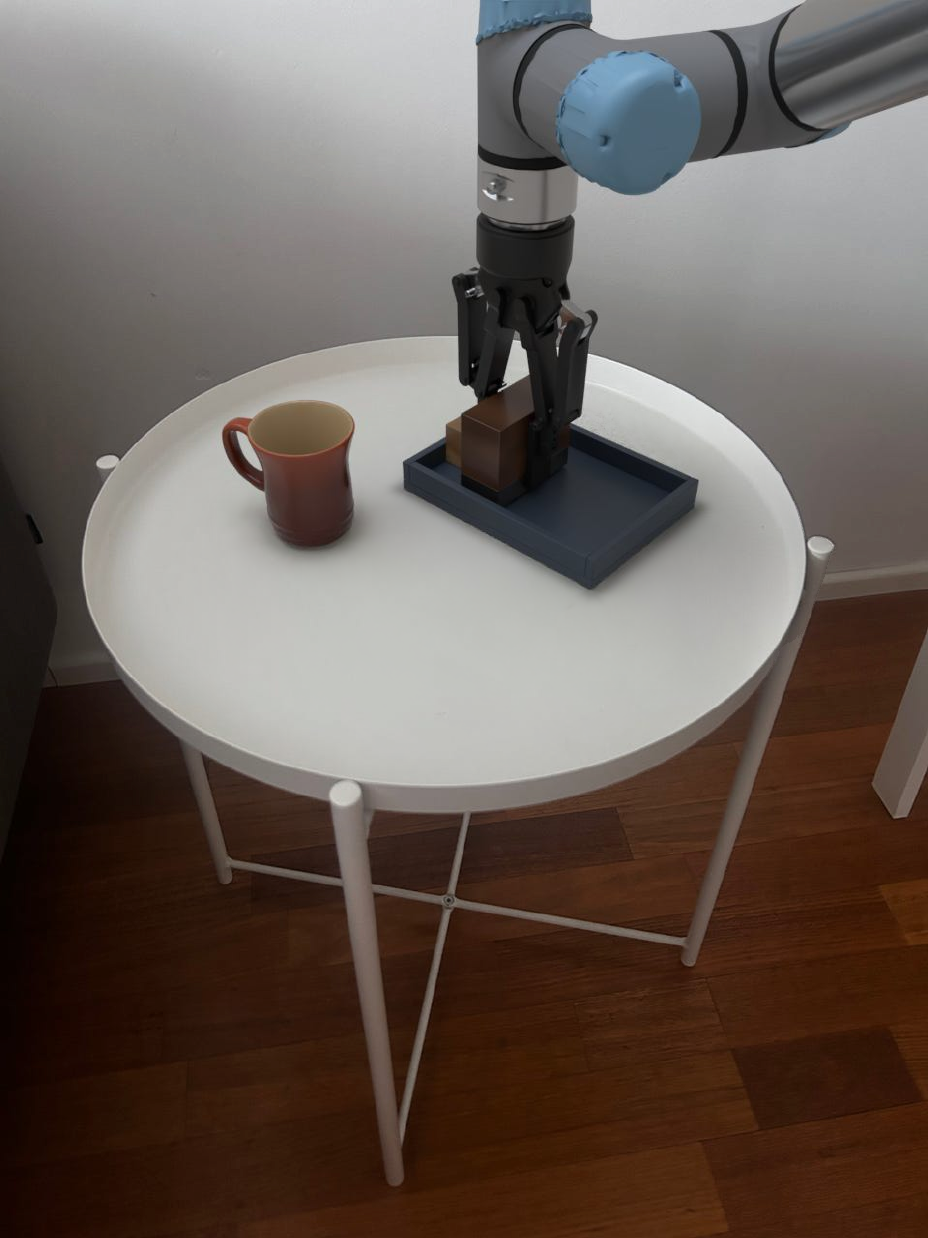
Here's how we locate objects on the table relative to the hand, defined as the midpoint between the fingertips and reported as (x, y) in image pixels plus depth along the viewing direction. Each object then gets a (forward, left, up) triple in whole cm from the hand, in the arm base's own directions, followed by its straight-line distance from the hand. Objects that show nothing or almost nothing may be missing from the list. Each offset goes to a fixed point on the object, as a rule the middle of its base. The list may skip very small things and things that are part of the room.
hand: (515, 470), depth 92 cm
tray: (-3, -1, -2) cm, 4 cm away
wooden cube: (+5, 0, -1) cm, 5 cm away
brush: (0, 0, -1) cm, 1 cm away
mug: (+11, +17, -2) cm, 20 cm away
